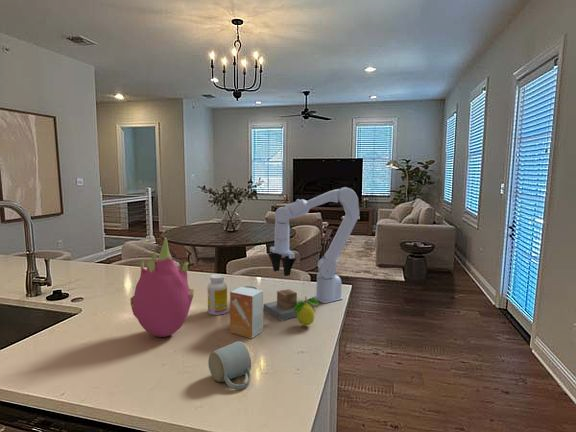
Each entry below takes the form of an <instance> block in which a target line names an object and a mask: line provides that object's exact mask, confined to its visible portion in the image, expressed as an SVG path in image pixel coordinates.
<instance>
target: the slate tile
mask: <svg viewBox="0 0 576 432" xmlns="http://www.w3.org/2000/svg"><path fill="white" fill-rule="evenodd" d="M299 302H300V301H298V300H297V303H299ZM263 311H265V312H267V313H268V314H271V315H272V316H274V317H275V318H277V319H278V320H280V321H286V320H289V319H294V318H297V311H296V312H294V308H289V309H283V308H281V307H279V306H278V305H277V300H276V301H271V302H267V303H263Z"/></svg>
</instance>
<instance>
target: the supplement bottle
mask: <svg viewBox="0 0 576 432" xmlns="http://www.w3.org/2000/svg"><path fill="white" fill-rule="evenodd" d="M209 278H210V279H209V280H210V282H209V283H208V284H207V313H208V314H210V315H213V316H221V315H224V314H226V313H227V312H228V284H227V283H226V282H224V280H225V276H224V275H223V274H212V275H210V277H209Z"/></svg>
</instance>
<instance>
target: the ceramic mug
mask: <svg viewBox="0 0 576 432" xmlns="http://www.w3.org/2000/svg"><path fill="white" fill-rule="evenodd" d="M251 358H252V357H251V354H250V352H249V350H248V347H247V346H246V344H245V343H244V342H242V341H240V340H239V341H235V342H232V343H230V344H228V345H227V344H226V345H225V346H223V347H220V348H218V349H216V350H214V351H212V352H211V353H210V354H209V356H208V360H207V362H208V363H207V364H208V368H209V369H208V370H209V372H210V374H211V377H212V378H213V379H214V380H215V381H216V382H217V383H222V382H225V383H226V385H227V386H228V387H229V388H230V389H233V390H236V391H238V390H240V391H241V390H244V389H245V388H247V387H248V386H249V385H250V382H251V377H252V376H251V375H252V374H251V370H252V359H251ZM243 375H247V381H246V382H244V383H242V384H237V383H234V382H232V381H231V380H232V379H235V378H239V377H241V376H243Z"/></svg>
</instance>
